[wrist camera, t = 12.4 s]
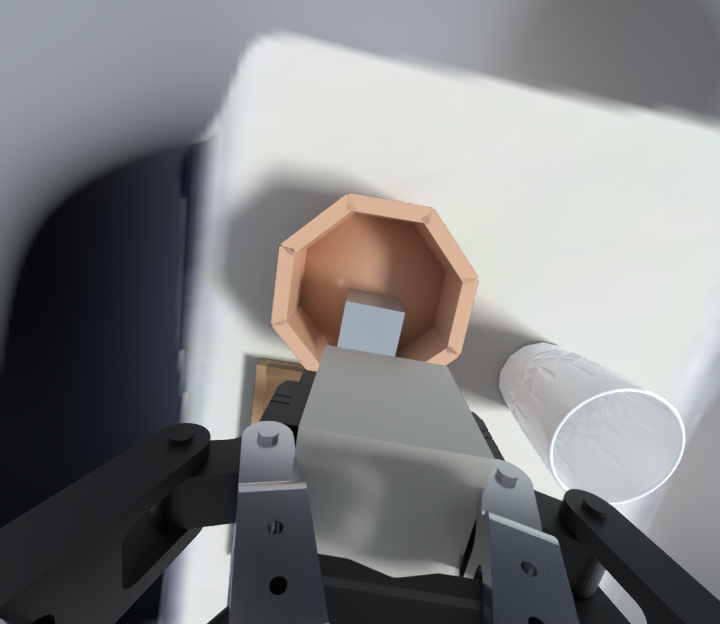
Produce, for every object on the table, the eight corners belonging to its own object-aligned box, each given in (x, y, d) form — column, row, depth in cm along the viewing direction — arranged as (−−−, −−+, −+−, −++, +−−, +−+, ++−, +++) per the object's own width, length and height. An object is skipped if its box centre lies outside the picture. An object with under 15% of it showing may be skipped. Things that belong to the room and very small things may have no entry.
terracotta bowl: (432, 372, 31) (447, 406, 25) (283, 348, 30) (265, 376, 25) (468, 219, 27) (494, 218, 22) (302, 191, 27) (286, 182, 22)
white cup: (479, 408, 31) (530, 490, 22) (508, 325, 29) (578, 374, 20) (563, 428, 32) (651, 517, 22) (597, 346, 30) (710, 405, 20)
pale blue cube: (386, 348, 29) (391, 373, 24) (339, 339, 29) (334, 362, 24) (398, 297, 28) (405, 312, 23) (349, 288, 28) (346, 300, 23)
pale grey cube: (422, 459, 14) (451, 592, 9) (310, 440, 14) (278, 564, 9) (447, 366, 13) (495, 459, 8) (325, 344, 13) (298, 426, 8)
